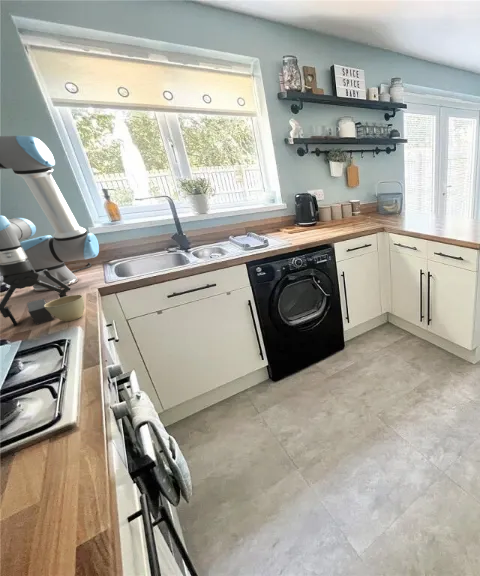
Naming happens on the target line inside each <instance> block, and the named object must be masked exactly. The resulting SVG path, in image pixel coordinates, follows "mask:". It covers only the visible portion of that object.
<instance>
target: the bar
mask: <svg viewBox="0 0 480 576" xmlns="http://www.w3.org/2000/svg"><path fill="white" fill-rule="evenodd" d="M46 303H47V301H46V300H45V298H40V299H36V300H33V301H27V302H26V304H27V305H26V306H27V310H28V313H29V315H30V316H31V318H32V320H33V322H34V324H35V325H39V324H43V323H46V322H47V323H48V322H50V321H54V316H53V315H52V314H51V313H50V312H48V311H47V310H46V308H45V307H44V305H45V304H46Z"/></svg>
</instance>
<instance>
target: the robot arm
mask: <svg viewBox="0 0 480 576" xmlns="http://www.w3.org/2000/svg"><path fill="white" fill-rule="evenodd" d="M55 165H56V160H55V158H54V155H53V153H52V151H51V150H50V149H49V148H48V146H47V144H45V143H44V142H43V141H42V140H40V139H39V138H38V137H36V136H33V135H3V136H2V135H1V136H0V170H3V169H4V170H5V169H6V170H9V169H11V170H12V172H13V173H14V175H16V176H18V177H21V178H22V179H23V180H24V182H25V184H26V185H27V187H28V189H29V190H30V192H31V194H32V195H33V197H34V198H35V200H36V202H37V203H38V206H39V207H40V209H41V210H42V212H43V214H44V215H45V217H46V219H47V221H48V222H49V224H50V225H51V227H52V229H53V230H54V233H53V235H50V234H47V235H41V236H38V237H34V238H31V237H33V236H34V235H35V234H36V232H37V227H36V225H35V224H34V223H33V222H32V221H31V220H30V219H28V218H25V217H11V218H7V217H6V216H5V215H2V214H0V274H1V276H2V279H0V287H2V285H3V284H6V285H8V286H9V287H8V289H7V291H6V292H5V294H4V296H3V297H2V299H1V301H0V313H1V315H2V317H3V318H4V319H6V318H9V320H10V321H11V323H12V325H13V326H14V327H15V326H18V322H17V319H16V318H15V317H14V315H13V312H12V311H11V309H10V308H9V307H8V306H6V305H7V304H8V302H9V300H10V299H11V297H12V295H13V294H14V292H15V290H16V289H18V290H21V289H26V288H31V287H32V288H33V290H34V291H35V292H46V291H53V292H56V293H58V294H57V295H58V297H59V298H62V297H66V296H68V295H67V292H70V291H71V287H70V286H71V285H73V284H75V283H78V282H79V279H78V277H77V275H75V272H79V271H82V270H85V269H88V268H91V267H92V263H91V262H87V263H88V264H87V266H85V267H84V266H83V267H81V268H78V269H74V270H70V269H69V268H68V267H67V265H66V263H67V262H73V261H83V260H88V259H93V258H96V257H98V255H99V252H100V245H99V241H98V238H97V236H96V235H95V234H94V233H92V232H88V231H87V229H86V228H85V227H82V226H80V224H79V223H78V221H77V219H76V217H75V215H74V214H73V212H72V209H71V208H70V207H69V205H68V203H67V200H66V199H65V197H64V195H63V193H62V191H61V190H60V188H59V186H58V185H57V182H56V180H55V179H54V177H53V175H52V173H53V171H54V168H53V166H55ZM29 238H30V239H29ZM22 240H23V241H22Z"/></svg>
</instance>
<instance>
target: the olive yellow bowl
mask: <svg viewBox="0 0 480 576" xmlns="http://www.w3.org/2000/svg"><path fill="white" fill-rule="evenodd" d="M44 307H45V308H46V310H47V311H48V312H50V313H51V314H52V316H53V317H54V318H56V319H58V320H60V321H62V322H67V323H68V322H73V321H76V320H78V319H80V318H82V317H83V315H84V310H85V300H84V296H83V295H82V294H72V295H71V294H70V295H67V296H66V297H62V298H60V297H59V298H55V299H52V300H50V301H48V302H46V304H45V305H44Z"/></svg>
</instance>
